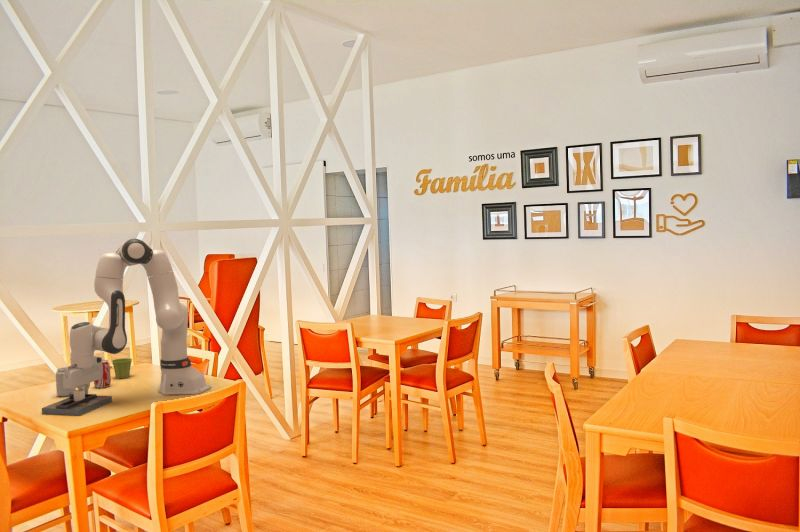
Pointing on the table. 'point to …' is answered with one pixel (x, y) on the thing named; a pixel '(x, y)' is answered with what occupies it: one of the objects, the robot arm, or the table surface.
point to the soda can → (104, 376)
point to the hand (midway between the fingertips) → (84, 394)
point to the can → (59, 383)
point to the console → (76, 405)
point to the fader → (79, 395)
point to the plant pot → (122, 367)
